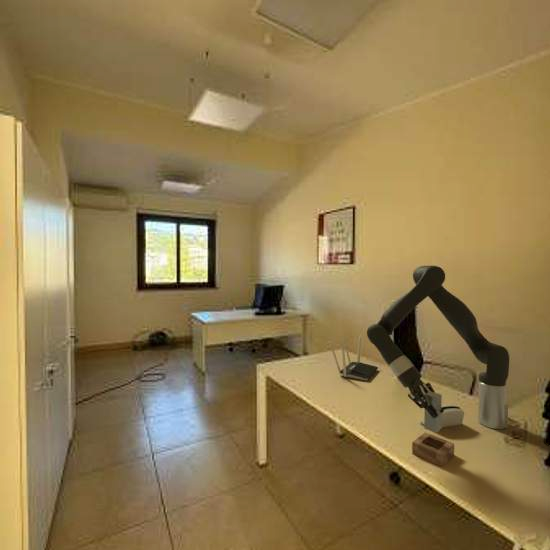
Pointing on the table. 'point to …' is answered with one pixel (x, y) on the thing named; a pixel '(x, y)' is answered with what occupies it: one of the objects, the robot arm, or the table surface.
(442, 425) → the white rounded block
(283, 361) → the table surface
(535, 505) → the table surface
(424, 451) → the socket block
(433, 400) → the square bit
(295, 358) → the table surface
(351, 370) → the wireless router
